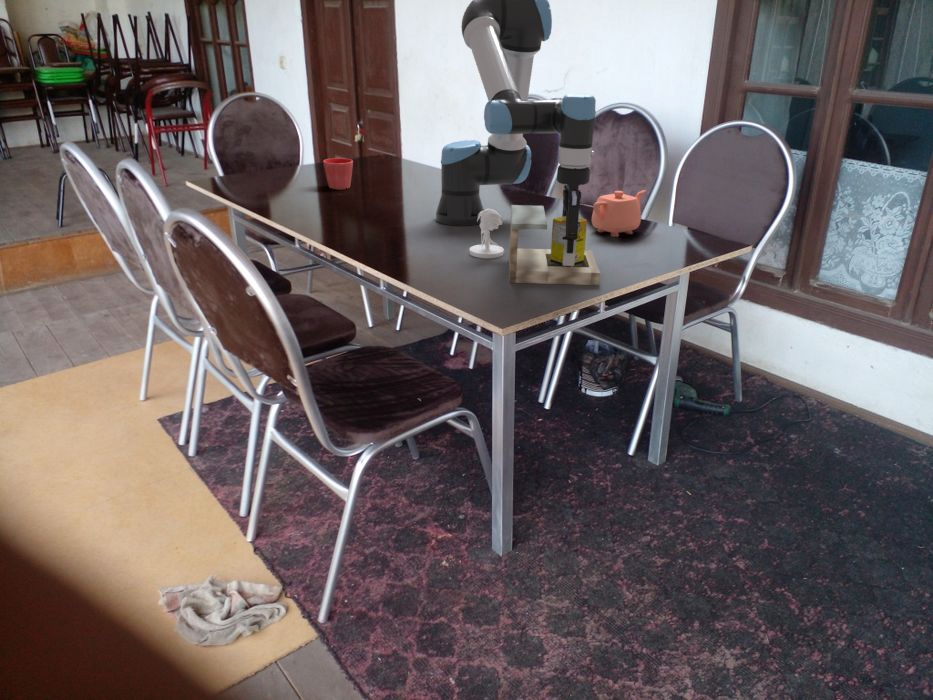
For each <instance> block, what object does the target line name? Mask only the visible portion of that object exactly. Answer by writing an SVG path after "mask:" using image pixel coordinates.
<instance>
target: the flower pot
mask: <svg viewBox="0 0 933 700" xmlns="http://www.w3.org/2000/svg"><path fill="white" fill-rule="evenodd" d="M323 168H324V173H325V177H326V182H327V185H328V187H329V189H331V188H332V190H334V189H335V190H346V188H347V189H349V188H350V187H351V182H352V177H353V176H352V173H353V168H354V161H353V159H351V158H345V157H344V158H343V157H342V158H341V157H339V158H338V157H337V158H336V157H334V158H326V159H324V160H323Z"/></svg>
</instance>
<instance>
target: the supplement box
mask: <svg viewBox="0 0 933 700" xmlns="http://www.w3.org/2000/svg"><path fill="white" fill-rule="evenodd" d="M587 224H588V219H585V218H581V217H579V219H578V238H577V239H576V249H575V261H574V266H573V267H576V266H575V265H578V264H582V263H583V262H584V252H585V250H586V249H585V248H586V239H587V238H586V237H587V226H588V225H587ZM551 231H552V232H551V245H550V249H551V259H550V262H553V263H556V264H559V265H562V266H561V267H572V266H563V252H564V240H562V237H565V236H566V216H563V217H562V216H560V217H554V218H553V219H552V230H551Z"/></svg>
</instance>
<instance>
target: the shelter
mask: <svg viewBox="0 0 933 700" xmlns="http://www.w3.org/2000/svg"><path fill="white" fill-rule="evenodd" d="M519 230H545V231H546V230H548V221H547V218H546V212H545V207H544V205H528V204H527V205H525V204H523V205H521V204H520V205H519V204H511V207H510V233H509V253H508V255H509V257H508V263H509V264H508V265H509V267H508V268H509V269H508V271H509V274H508V275H509V283H511V284H512V283H516V284H518V283H519V284H548V285H581V286H584V285H585V286H600V279H601V271H600V269H599V266H598V263H597V261H596V258H595V257H594V252H593V251H592V250H591V249H590V250H589V249H588V250H586V249H585V252H584V262H583V263H582V264H578V265H575V266H571V267H565V266H562V265H559V264H556V263H553V262H550V259H551V248H547V249H546V248H518V246H519V243H518V241H519Z"/></svg>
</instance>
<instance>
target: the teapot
mask: <svg viewBox="0 0 933 700" xmlns="http://www.w3.org/2000/svg"><path fill="white" fill-rule="evenodd" d="M646 191H647V190H646V189H643V190H640V191H638V192H637V194H636V195H635V196H632V195H629V194H625V193H624V191H622V190H615V191H614V192H613V193H609V194H604V195H600V196H599V197H598V198H597V201H596V202H594V203H593V210H592V215H591V223H592V226H593V227H594V228H596V232H597V231H598V233H605V232H606V233H607V232H608V233H610V237H612V238H617V237H619V236H620V234H619V233H625V235H626V234H627V235H633V234H634V232H633V230H636V229H638V228H639V226H640V225H641V220H642V219H641V218H642V214H641V213H642V212H641V210H642V209H641V200H642V197H643V195H644V193H646Z"/></svg>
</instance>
